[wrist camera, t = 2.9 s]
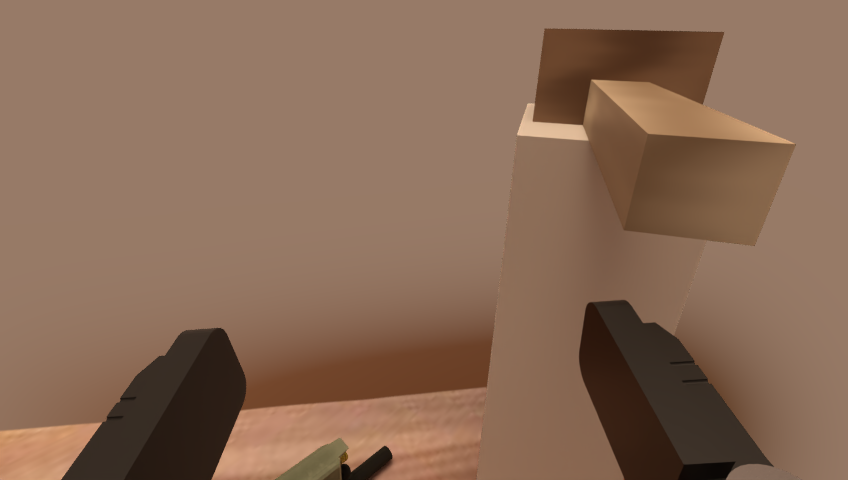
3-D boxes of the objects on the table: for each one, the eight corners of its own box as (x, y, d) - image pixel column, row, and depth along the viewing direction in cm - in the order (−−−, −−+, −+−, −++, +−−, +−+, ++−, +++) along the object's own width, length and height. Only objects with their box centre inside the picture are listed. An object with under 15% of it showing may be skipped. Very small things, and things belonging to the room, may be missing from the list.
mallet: (512, 216, 9) (537, 12, 8) (536, 104, 25) (545, 31, 24) (897, 263, 8) (1040, 17, 6) (662, 112, 24) (683, 34, 22)
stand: (465, 571, 31) (517, 135, 17) (483, 455, 40) (527, 103, 26) (578, 606, 29) (737, 152, 16) (572, 477, 38) (669, 111, 24)
